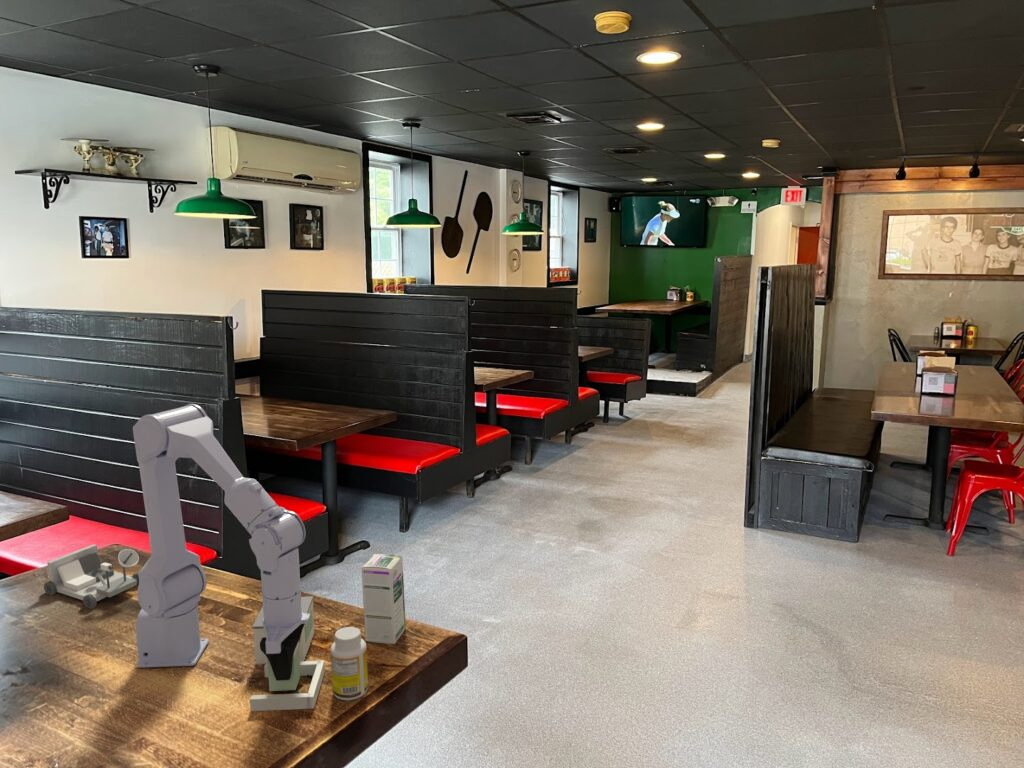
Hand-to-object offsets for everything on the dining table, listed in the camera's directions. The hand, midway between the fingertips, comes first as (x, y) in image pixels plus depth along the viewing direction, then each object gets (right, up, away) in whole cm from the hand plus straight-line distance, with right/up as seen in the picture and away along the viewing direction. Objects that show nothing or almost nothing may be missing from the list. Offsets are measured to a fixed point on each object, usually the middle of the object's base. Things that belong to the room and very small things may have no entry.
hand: (286, 670), depth 120 cm
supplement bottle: (+10, -4, 0) cm, 11 cm away
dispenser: (-4, -1, +13) cm, 14 cm away
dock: (0, -3, +1) cm, 3 cm away
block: (0, -2, 0) cm, 2 cm away
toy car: (-48, +3, +35) cm, 59 cm away
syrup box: (+13, 0, +17) cm, 22 cm away
